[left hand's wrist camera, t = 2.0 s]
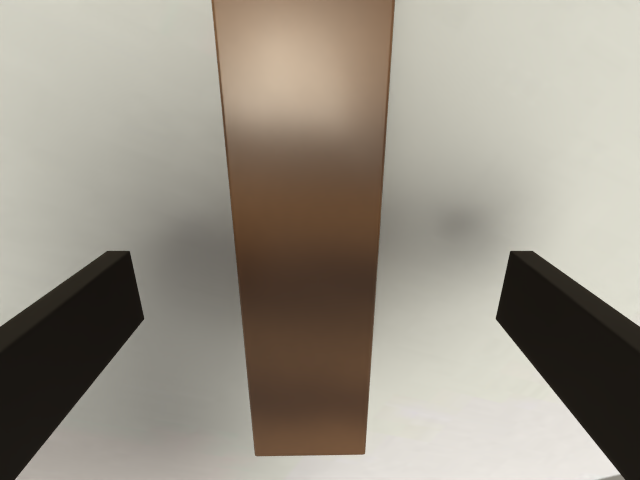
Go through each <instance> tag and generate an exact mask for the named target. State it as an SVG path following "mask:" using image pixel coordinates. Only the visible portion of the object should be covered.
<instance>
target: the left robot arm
mask: <svg viewBox="0 0 640 480" xmlns="http://www.w3.org/2000/svg"><path fill="white" fill-rule="evenodd" d="M143 320H144V315H143V311H142V306H141V301H140V297H139V292H138V288H137V283H136V278H135V274H134V269H133V264H132V260H131V255H130V251H107V252H105V253H104V254H103V255H101V256H100V257H98V258H97V259H96V260H94V261H93V262H91V263H90V264H88V265H87V266H86V267H84V268H83V269H81V270H80V271H79V272H77V273H76V274H74V275H73V276H71V277H70V278H69V279H67V280H66V281H64V282H63V283H62V284H60V285H59V286H57V287H56V288H54V289H53V290H52V291H50V292H49V293H47V294H46V295H45V296H43V297H42V298H40V299H39V300H38V301H36V302H35V303H33V304H32V305H30V306H29V307H28V308H26V309H25V310H23V311H22V312H21V313H19V314H18V315H16V316H15V317H13V318H12V319H11V320H9V321H8V322H6V323H5V324H4V325H2V326H1V327H0V480H15V479H16V477H17V476H18V475H19V474H20V472H21V471H22V470H23V469H24V468H25V466H26V465H27V464H28V463H29V461H30V460H31V459H32V458H33V456H34V455H35V454H36V453H37V451H38V450H39V449H40V448H41V446H42V445H43V444H44V443H45V441H46V440H47V439H48V438H49V436H50V435H51V434H52V433H53V432H54V430H55V429H56V428H57V427H58V425H59V424H60V423H61V422H62V420H63V419H64V418H65V417H66V415H67V414H68V413H69V412H70V410H71V409H72V408H73V407H74V405H75V404H76V403H77V402H78V401H79V399H80V398H81V397H82V396H83V394H84V393H85V392H86V391H87V389H88V388H89V387H90V386H91V384H92V383H93V382H94V381H95V379H96V378H97V377H98V376H99V374H100V373H101V372H102V371H103V369H104V368H105V367H106V366H107V365H108V363H109V362H110V361H111V360H112V358H113V357H114V356H115V355H116V353H117V352H118V351H119V350H120V348H121V347H122V346H123V345H124V343H125V342H126V341H127V340H128V338H129V337H130V336H131V335H132V333H133V332H134V331H135V330H136V329H137V327H138V326H139V325H140V324H141V322H142V321H143ZM496 320H497V321H498V322H499V324H500V325H501V326H502V327H503V329H504V330H505V331H506V332H507V333H508V335H509V336H510V337H511V338H512V340H513V341H514V342H515V343H516V345H517V346H518V347H519V348H520V350H521V351H522V352H523V353H524V355H525V356H526V357H527V358H528V360H529V361H530V362H531V363H532V365H533V366H534V367H535V368H536V369H537V371H538V372H539V373H540V374H541V376H542V377H543V378H544V379H545V381H546V382H547V383H548V384H549V386H550V387H551V388H552V389H553V391H554V392H555V393H556V394H557V396H558V397H559V398H560V399H561V401H562V402H563V403H564V404H565V405H566V407H567V408H568V409H569V410H570V412H571V413H572V414H573V415H574V417H575V418H576V419H577V420H578V422H579V423H580V424H581V425H582V427H583V428H584V429H585V430H586V432H587V433H588V434H589V435H590V436H591V438H592V439H593V440H594V441H595V443H596V444H597V445H598V446H599V448H600V449H601V450H602V451H603V453H604V454H605V455H606V456H607V458H608V459H609V460H610V461H611V463H612V464H613V465H614V466H615V468H616V469H617V470H618V471H619V472H620V474H621V475H622V476H623V477H624V479H625V480H640V326H638V325H636V324H635V323H634V322H632V321H631V320H629V319H628V318H627V317H625V316H624V315H622V314H621V313H619V312H618V311H617V310H615V309H614V308H612V307H611V306H610V305H608V304H607V303H605V302H604V301H602V300H601V299H600V298H598V297H597V296H595V295H594V294H593V293H591V292H590V291H588V290H587V289H586V288H584V287H583V286H581V285H580V284H578V283H577V282H576V281H574V280H573V279H571V278H570V277H569V276H567V275H566V274H564V273H563V272H561V271H560V270H559V269H557V268H556V267H554V266H553V265H552V264H550V263H549V262H547V261H546V260H544V259H543V258H542V257H540V256H539V255H537V254H536V253H535V252H533V251H510V255H509V260H508V264H507V269H506V274H505V278H504V283H503V288H502V292H501V297H500V301H499V306H498V311H497V315H496Z"/></svg>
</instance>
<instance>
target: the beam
mask: <svg viewBox="0 0 640 480" xmlns="http://www.w3.org/2000/svg"><path fill="white" fill-rule="evenodd" d="M394 8H395V0H212V11H213V21H214V32H215V42H216V53H217V63H218V73H219V84H220V94H221V105H222V115H223V126H224V136H225V147H226V157H227V168H228V178H229V189H230V199H231V210H232V220H233V231H234V241H235V251H236V262H237V272H238V283H239V293H240V304H241V314H242V325H243V335H244V346H245V356H246V367H247V377H248V388H249V398H250V409H251V419H252V429H253V440H254V450H255V456H301V455H363V454H365V447H366V432H367V416H368V401H369V386H370V371H371V356H372V341H373V326H374V311H375V295H376V280H377V265H378V250H379V235H380V220H381V205H382V189H383V174H384V159H385V144H386V129H387V114H388V99H389V83H390V68H391V53H392V38H393V23H394Z"/></svg>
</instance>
